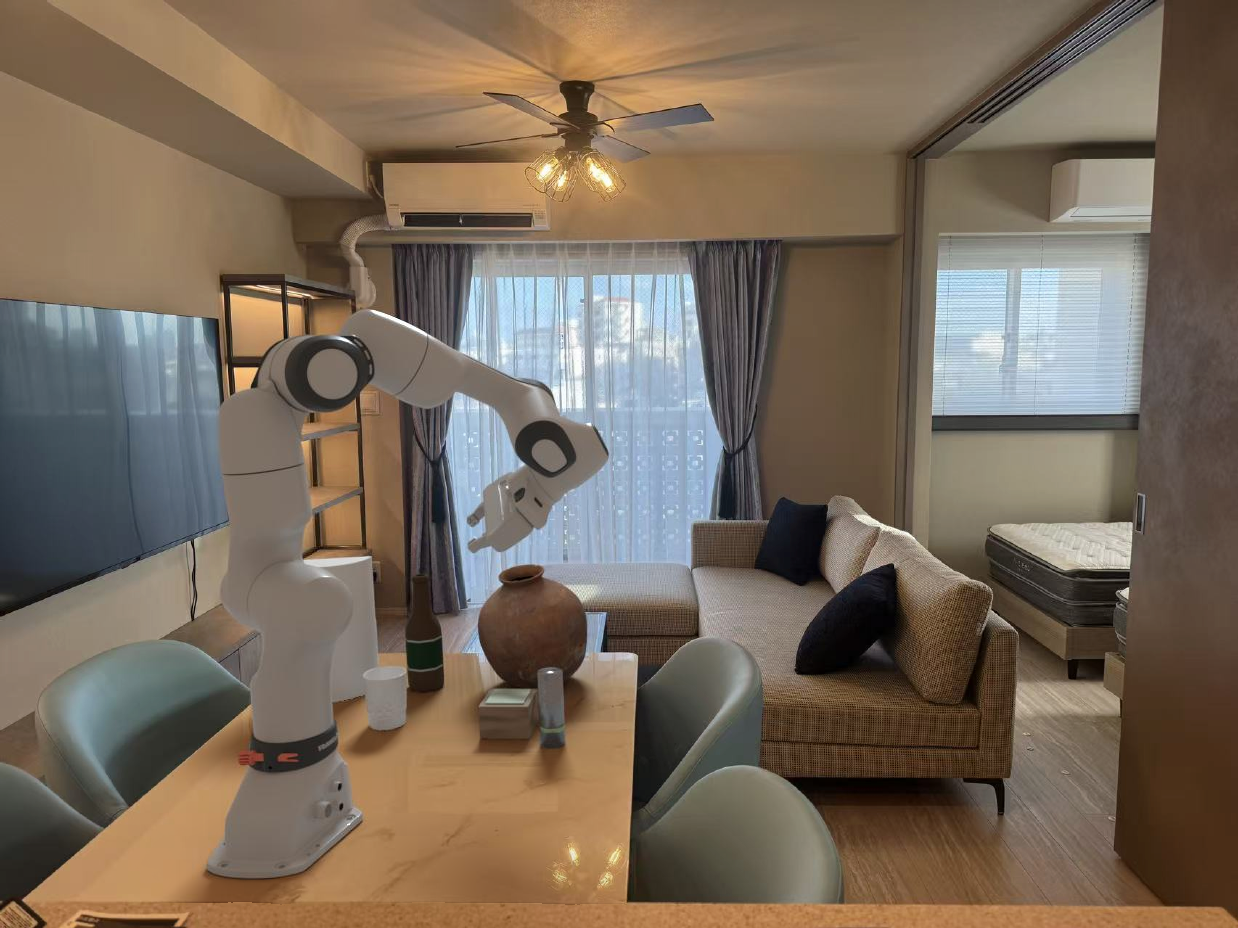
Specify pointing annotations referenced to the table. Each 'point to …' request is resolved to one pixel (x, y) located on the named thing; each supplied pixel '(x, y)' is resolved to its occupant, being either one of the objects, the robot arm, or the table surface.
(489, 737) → the stand block
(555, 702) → the grey cylindrical bottle
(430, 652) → the beer bottle
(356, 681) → the cylinder
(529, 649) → the pottery
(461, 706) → the table surface
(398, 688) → the white cup
